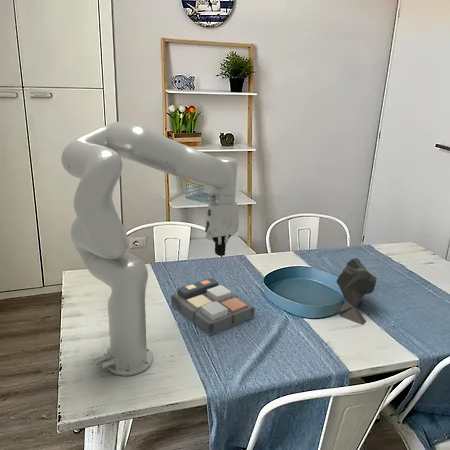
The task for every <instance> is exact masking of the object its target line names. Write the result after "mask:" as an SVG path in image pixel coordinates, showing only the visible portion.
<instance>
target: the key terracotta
mask: <svg viewBox="0 0 450 450" xmlns="http://www.w3.org/2000/svg"><path fill="white" fill-rule="evenodd" d="M221 305H223V306H224V307H226V308H227V309H228V311H230V312H231V313H232V314H233V313H235V312H238V311H240V310H243V309H245V308H247V305H246V304H245V303H243V302H242V301H240V300H239V299H237V298H233V299H230V300H227V301H224V302H222V303H221Z"/></svg>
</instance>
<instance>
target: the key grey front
mask: <svg viewBox="0 0 450 450" xmlns="http://www.w3.org/2000/svg"><path fill="white" fill-rule="evenodd" d="M201 314H203V315H204V316H205V317H207V318H208V319H209V320H211V321H215V320H217V319H220V318H222V317H225V316H227V315H228V309H227V308H226V307H224V306H223V305H221V304H220V303H218V302H217V301H215V302H212V303H209V304H207V305H204V306H201Z"/></svg>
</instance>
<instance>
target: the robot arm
mask: <svg viewBox="0 0 450 450" xmlns="http://www.w3.org/2000/svg"><path fill="white" fill-rule="evenodd" d="M122 159H125V160H130V161H133V162H136V163H139V164H141V165H144V166H146V167H149V168H152V169H154V170H157V171H160V172H162V173H165V174H167V175H172V176H174V177H179V178H183V179H189V181H190V182H192V183H194V184H197V185H201V186H206V187H209V188H210V195H208V196H207V200H208V201H209V202H208V205H207V207H206V208H207V209H206V213H205V223H204V231H205V233H206V235H205V239H207V240H209V241H212V242H214V254H215V255H217V256H219V257H224V256H226V249H227V248H226V247H227V244H228V241H229V239H230V238H231V237H232V236H235V235H236V234H237V233H238V232H239V228H240V227H239V226H240V225H239V224H240V223H239V222H240V221H239V220H240V218H239V216H240V215H239V207H238V202H237V201H236V195H237V194H236V193H237V176H238V160H237V159H236V158H235V157H231V156H216V157H215V156H213V155H210V154H208V153H205V152H203V151H200V150H198V149H195V148H193V147H191V146H188V145H186V144H183V143H181V142H178V141H176V140H174V139H172V138H169V137H167V136H165V135H163V134H161V133H159V132H156V131H155V130H152V129H150V128H148V127H146V126H143V125H140V124H134V123H127V122H122V121H117V122H116V121H115V122H112V123H109V124H106V125H103V126H102V127H99V128H98V129H96V130H93V131H91V132H89V133H87V134H85V135H83V136H81V137H78V138H77V139H74V140H72V141H71V142H70V143H69V144H67V145H66V146H65V147H64V149H63V151H62V153H61V159H60V160H61V164H62V166H63V168H64V170H65V171H66V172H67V173H68V174H69V175H71V176H72V177H75V178H76V179H77V178H78V179H80V181H79V182H78V185H77V187H76V190H75V193H74V198H73V209H74V211H75V214H76V217H75V219H74V220H73V223H72V224H71V228H70V237H71V242H72V243H73V245H74V248H75V249H76V251H77V253H78V254H79V256H80V258H81V260H82V262H83V264H84V265H85V267H86V269H87V270H88V272H89V273H90V274H91V275H92V276H93V277H94V278H95V279H97V280H99V281H100V282H102V283H104V284H105V285H106V286H108V287H109V288H111V293H110V296H109V299H108V302H107V314H108V316H107V317H108V329H109V330H108V332H109V343H110V347H108V348H106V352H105V353H103V355H100V356H98V357H95V358H93V359H92V362H93V364H94V367H97V366H99V365H101V367H102V369H105V368H106V369H107V370H108V371H109V372H110V373H112V374H114V375H118V376H125V377H127V376H134V375H137V374H138V375H139V374H140V373H142V372H144V371H146V370H147V369H148V368H150V366H151V365H152V363H153V360H154V359H153V352H152V350H151V349H149V348H148V347H147V345H148V344H147V324H146V323H147V321H146V320H147V319H146V292H147V291H146V290H147V284H148V280H149V279H148V278H149V270H148V267H147V265H146V263H145V262H144V261H143V260H141V259H140V258H139V257H138V256H136V255H134V254H132V253H129V252H127V250H128V248H129V238H128V234H127V231H126V229H125V227H124V225H123V223H122V220H121V218H120V216H119V215H118V212H117V210H116V207H115V205H114V200H113V194H114V191H115V187H116V186H117V183H118V181H119V180H120V178H121V175H122V174H123V173H122V172H123V162H122Z"/></svg>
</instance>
